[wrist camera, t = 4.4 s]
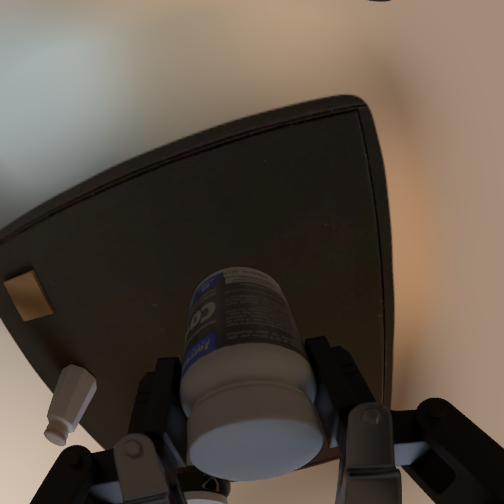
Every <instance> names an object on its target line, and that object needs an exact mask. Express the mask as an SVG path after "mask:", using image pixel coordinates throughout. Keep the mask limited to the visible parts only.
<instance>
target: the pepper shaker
mask: <svg viewBox="0 0 504 504" xmlns="http://www.w3.org/2000/svg"><path fill="white" fill-rule="evenodd" d="M96 389H97V387H96V379H95V378H94V377H93V376H92V375H91V374H90V373H89V372H88V371H87V370H86V369H85V368H83V367H79V366H76V365H73V364H70V365H68V366H67V367H65V368H63V369H62V372H61V374H60V377H59V380H58V383H57V386H56V389H55V392H54V395H53V398H52V401H51V404H50V407H49V410H48V414H47V417H48V420H49V424H48V426H47V429H46V430H45V432H44V435H45V437H46V438H47V439H48V440H49V441H50V442H52V443H53V444H56V445H59V446H64V445H65V444H66V439H67V437H68V433H71V432H74V430H75V429H76V427H77V425H78V423H79V421H80V419H81V417H82V416H83V414H84V412H85V410H86V408H87V406H88V404H89V402H90V400H91V399H92V397H93V395H94V393H95V391H96Z"/></svg>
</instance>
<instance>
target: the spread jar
mask: <svg viewBox="0 0 504 504" xmlns="http://www.w3.org/2000/svg"><path fill="white" fill-rule="evenodd" d="M177 479H178V480H179V483H180V486H181V488H182V491H183V493H184V496H185V498H186V501H187V503H188V504H227V497H228V495H229V493H230V480H227V479H222V478H218V477H215V476H211V475H209V474H206V473H204V472H202V471H201V470H199V469H198V468H197V467H195V466H194V464H193V463H192V462H191V460H190V459H189V456H188V451H187V463H186V467H177Z"/></svg>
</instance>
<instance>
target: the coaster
mask: <svg viewBox="0 0 504 504" xmlns="http://www.w3.org/2000/svg"><path fill="white" fill-rule="evenodd" d="M4 285H5V287H6V289H7V291H8V293H9V295H10V297H11V299H12V301H13V302H14V304H15V306H16V308H17V310H18V312H19V313H20V315H21V317H22V319H23V320H24V322H25V321H28V320H32V319H35V318H39V317H43V316H46V315H50V314H53V313H54V312H55V310H54V309H53V307H52V305H51V303H50V301H49V299H48V298H47V296H46V294H45V292H44V290H43V288H42V286H41V284H40V282H39V280H38V278H37V276H36V274H35V272H34V270H30V271H28V272H25V273H23V274H20V275H18V276H16V277H13V278H11V279H8V280H6V281H5V282H4Z"/></svg>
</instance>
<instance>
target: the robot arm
mask: <svg viewBox="0 0 504 504" xmlns="http://www.w3.org/2000/svg"><path fill="white" fill-rule="evenodd" d="M305 350H306V352H307V355H308V357H309V360H310V362H311V365H312V367H313V370H314V373H315V377H316V384H317V391H316V396H315V400H314V403H315V406H316V409H317V412H318V415H319V418H320V421H321V424H322V427H323V430H324V432H325V435H326V438H327V441H328V444H329V447H330V448H332V447H335V446H338V447H339V450H340V453H341V456H340V463H339V475H338V484H337V493H336V501H335V504H402V485H401V473H400V470H399V469H396V467H395V466H401V467H402V468H403V469H404V470H405V471H406V472H407V473H408V474H409V476H410V477H411V478H412V479H413V480H414V481H415V482H416V483H417V484H418V485H419V486H420V488H422V490H423V491H424V492H425V493H426V494H427V495H428V496H429V497H430V498H431V499H432V500H433V501H434V502H435V504H504V448H502V447H501V446H500V445H499V444H498V443H497V442H495V441H494V440H493V439H492V438H491V437H489V436H488V435H487V434H486V433H485V432H484V431H482V430H481V429H480V428H479V427H478V426H476V425H475V424H474V423H473V422H472V421H471V420H469V419H468V418H467V417H466V416H465V415H463V414H462V413H461V412H460V411H459V410H457V409H456V408H455V407H454V406H453V405H452V404H450V403H449V402H448V401H446V400H444V399H441V398H429V399H426V400H425V401H423V402H422V403H420V404H419V406H418V407H417V410H405V411H393V410H389V409H388V408H387V407H386V406H384V405H383V404H381V403H378V402H376V400H375V399H374V397H373V395H372V393H371V391H370V389H369V388H368V386H367V384H366V382H365V380H364V378H363V377H362V375H361V373H360V372H359V369H358V367H357V366H356V364H355V362H354V360H353V358H352V356H351V355H350V353H349V352H348V351H346V350H345V349H343V348H342V347H341V346H337V347H332V348H331V347H330V345H329V343H328V341H327V339H326V337H325V336H320V337H315V338H310V339H305ZM181 370H182V366H181V363H180V360H179V358H178V357H170V358H159V359H158V361H157V365H156V369H155V372H147V373H146V374H145V376H144V377H143V378H142V380H141V381H140V383H139V387H138V391H137V393H138V394H137V395H136V399H135V401H136V403H135V404H134V408H133V412H132V416H131V421H130V425H129V430H128V434H127V435H125V436H123V437H121V438H120V439H119V440H118V441H117V442H116V444H115V446H114V448H112V449H109V450H105V451H100V452H96V453H91V452H90V451H89V450H88V449H87V448H86V447H83V446H81V445H73V446H70V447H68V448H66V449H64V450H63V451H62V452H61V454H60V455H59V457H58V458H57V460H56V461H55V463H54V465H53V466H52V468H51V469H50V471H49V473H48V474H47V476H46V477H45V479H44V481H43V482H42V484H41V486H40V487H39V489H38V491H37V493H36V494H35V496H34V497H33V499H32V501H31V502H30V504H188V503H187V501H186V498H185V496H184V493H183V491H182V488H181V486H180V483H179V480H178V479H177V467H186V463H187V421H188V417H187V416H186V414H185V412H184V410H183V408H182V405H181V402H180V394H179V389H180V378H181Z"/></svg>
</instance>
